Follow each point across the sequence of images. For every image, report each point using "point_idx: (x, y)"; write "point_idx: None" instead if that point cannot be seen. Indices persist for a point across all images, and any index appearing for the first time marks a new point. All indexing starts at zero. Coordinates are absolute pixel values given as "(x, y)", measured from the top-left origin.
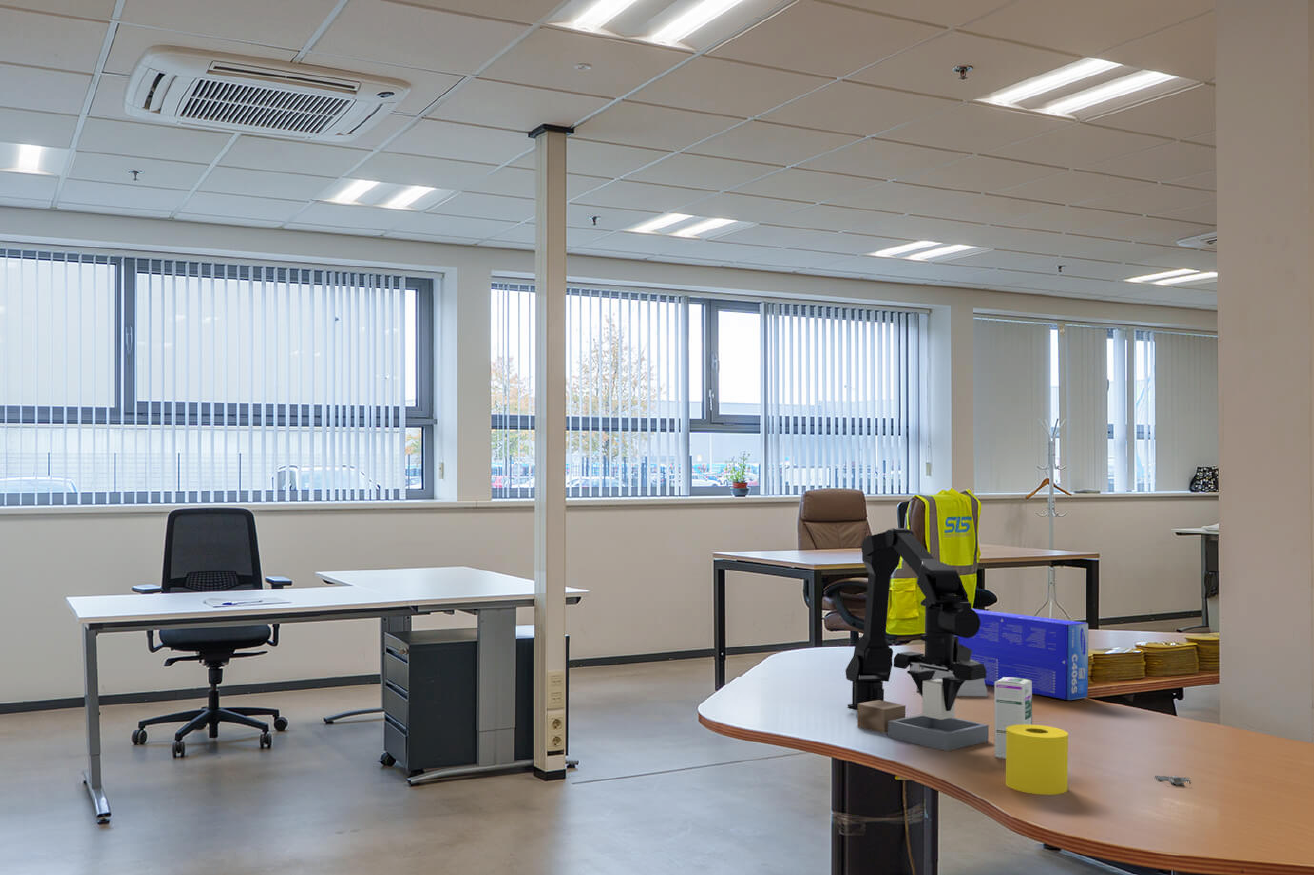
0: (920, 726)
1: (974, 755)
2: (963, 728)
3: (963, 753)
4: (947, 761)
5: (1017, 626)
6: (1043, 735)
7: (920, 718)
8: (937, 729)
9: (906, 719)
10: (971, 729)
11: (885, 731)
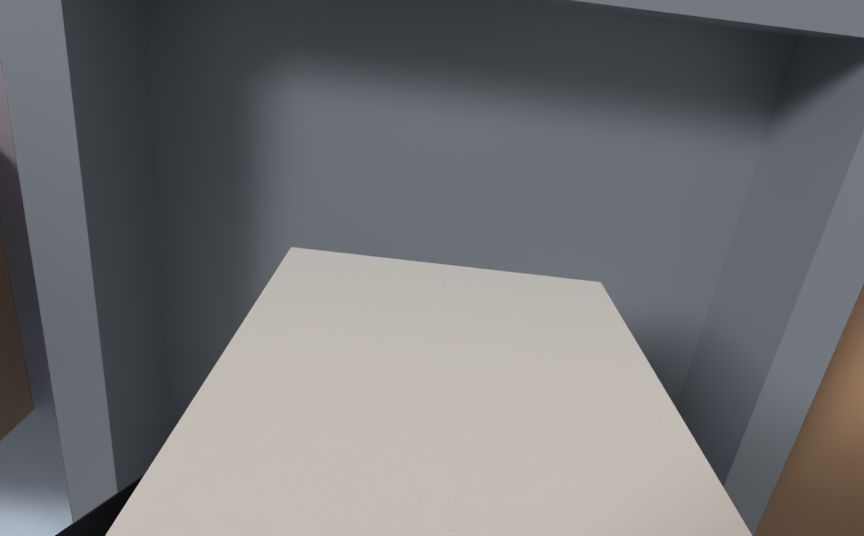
0: (143, 169)
1: (858, 510)
2: (587, 7)
3: (775, 514)
4: None
5: None
6: None
7: (97, 190)
8: (271, 39)
9: (112, 428)
10: (834, 341)
11: (23, 400)
